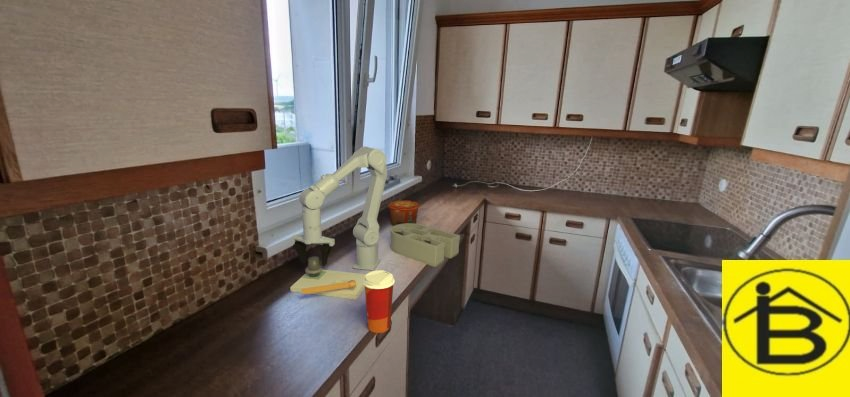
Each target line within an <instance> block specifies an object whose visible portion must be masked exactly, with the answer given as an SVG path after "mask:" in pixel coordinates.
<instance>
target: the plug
mask: <svg viewBox="0 0 850 397" xmlns="http://www.w3.org/2000/svg"><path fill="white" fill-rule="evenodd" d="M307 262H308V263H307V266H306V267H305V274H306V273H309V276H310V277H317V276H319V275H320V272H321V271H322V270H324V269H323V267H324V266H322V265H320V257H319V256H318V255H317V256H316V255H315V256H309V257H307Z"/></svg>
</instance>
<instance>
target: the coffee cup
mask: <svg viewBox="0 0 850 397" xmlns="http://www.w3.org/2000/svg"><path fill="white" fill-rule="evenodd" d="M395 282H396V281H395V278H394V275H393V274H392V273H390V272H389V271H386V270H380V269H379V270H371V271H369V272H367V273H366V276H365V279H364V280H363V284H364V285H365V288H364V293H365V306H366V307H365V308H366V317H367V318H366V319H367V320H366V321H367V327H368V331H370V333H373V334H383V333H386V332H388V331H389V330H390V328H391V320H392V319H391V318H392V311H393V310H392V308H393V297H394V296H393V294H394V293H393V292H394V285H395Z"/></svg>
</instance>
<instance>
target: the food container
mask: <svg viewBox="0 0 850 397" xmlns="http://www.w3.org/2000/svg"><path fill="white" fill-rule="evenodd" d="M387 207H388V210H389V218H390V225H392V227H393V226H395V225H398V224H406V223H413V224H417V218H418V211H419V209H420V204H419V203H418V202H417V201H412V200H402V199H401V200H400V199H399V200H395V201H391V202H389V203H388V205H387Z"/></svg>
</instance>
